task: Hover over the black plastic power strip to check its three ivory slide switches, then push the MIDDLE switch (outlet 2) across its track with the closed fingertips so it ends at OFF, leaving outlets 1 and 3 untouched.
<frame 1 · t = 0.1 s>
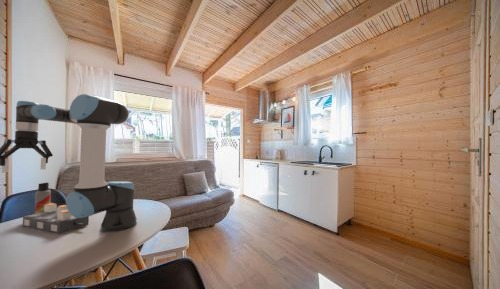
hand: (25, 170, 94), 28 cm above the table, fingers open, 13 cm apart
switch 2: (63, 209, 95), point 7 cm above the table, slide at -2.5 cm
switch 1: (64, 215, 87), point 7 cm above the table, slide at 2.5 cm
lotion bottle: (42, 217, 102), on the table
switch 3: (50, 207, 97), point 7 cm above the table, slide at -2.5 cm
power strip: (56, 225, 92), on the table
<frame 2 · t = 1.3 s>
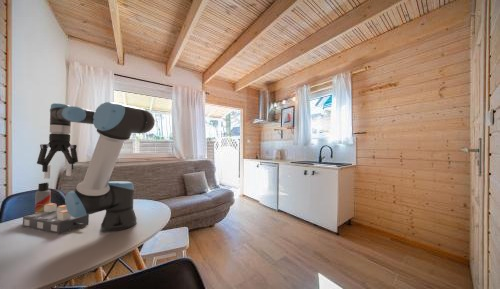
hand: (58, 176, 93), 25 cm above the table, fingers open, 8 cm apart
nothing on the table moved.
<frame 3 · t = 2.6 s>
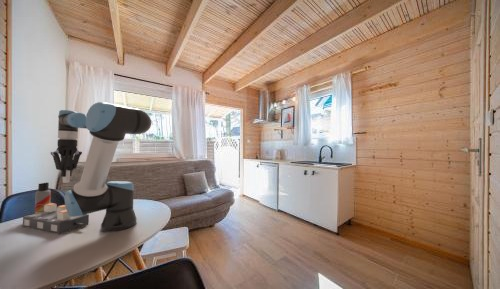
hand: (66, 182, 96), 22 cm above the table, fingers closed
nothing on the table moved.
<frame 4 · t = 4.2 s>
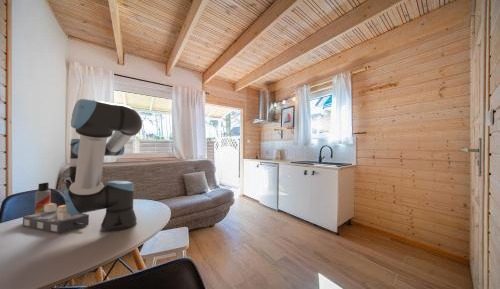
hand: (77, 206, 101), 7 cm above the table, fingers closed
nothing on the table moved.
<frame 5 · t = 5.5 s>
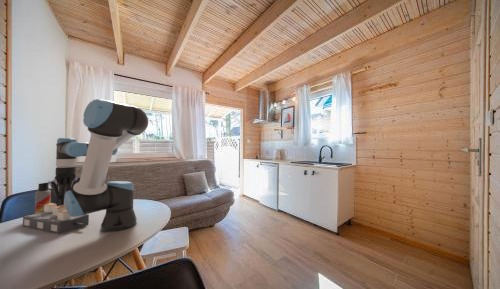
hand: (64, 210, 95), 7 cm above the table, fingers closed
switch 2: (58, 210, 93), point 7 cm above the table, slide at -0.8 cm, touching gripper
everything else where it was.
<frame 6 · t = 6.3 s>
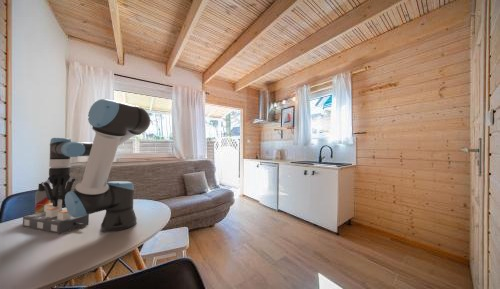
hand: (58, 212, 93), 7 cm above the table, fingers closed
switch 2: (52, 212, 90), point 7 cm above the table, slide at 1.8 cm, touching gripper
everything else where it was.
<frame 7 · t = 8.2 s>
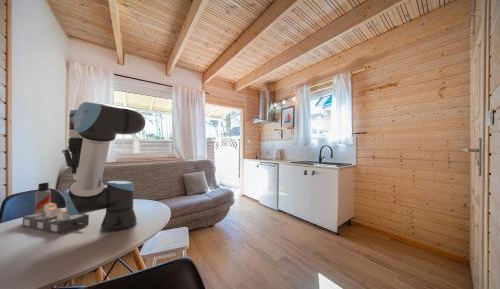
hand: (76, 179, 100), 23 cm above the table, fingers closed
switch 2: (52, 212, 90), point 7 cm above the table, slide at 1.8 cm
everything else where it was.
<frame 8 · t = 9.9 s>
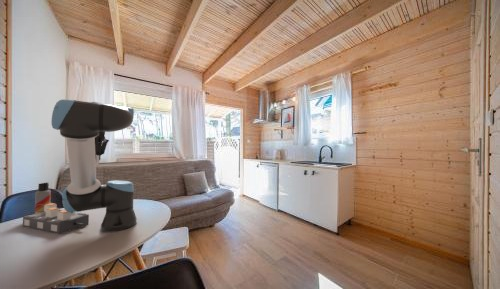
hand: (96, 165, 109), 29 cm above the table, fingers closed
nothing on the table moved.
at the end: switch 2 slide at 1.8 cm; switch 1 slide at 2.5 cm; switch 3 slide at -2.5 cm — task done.
